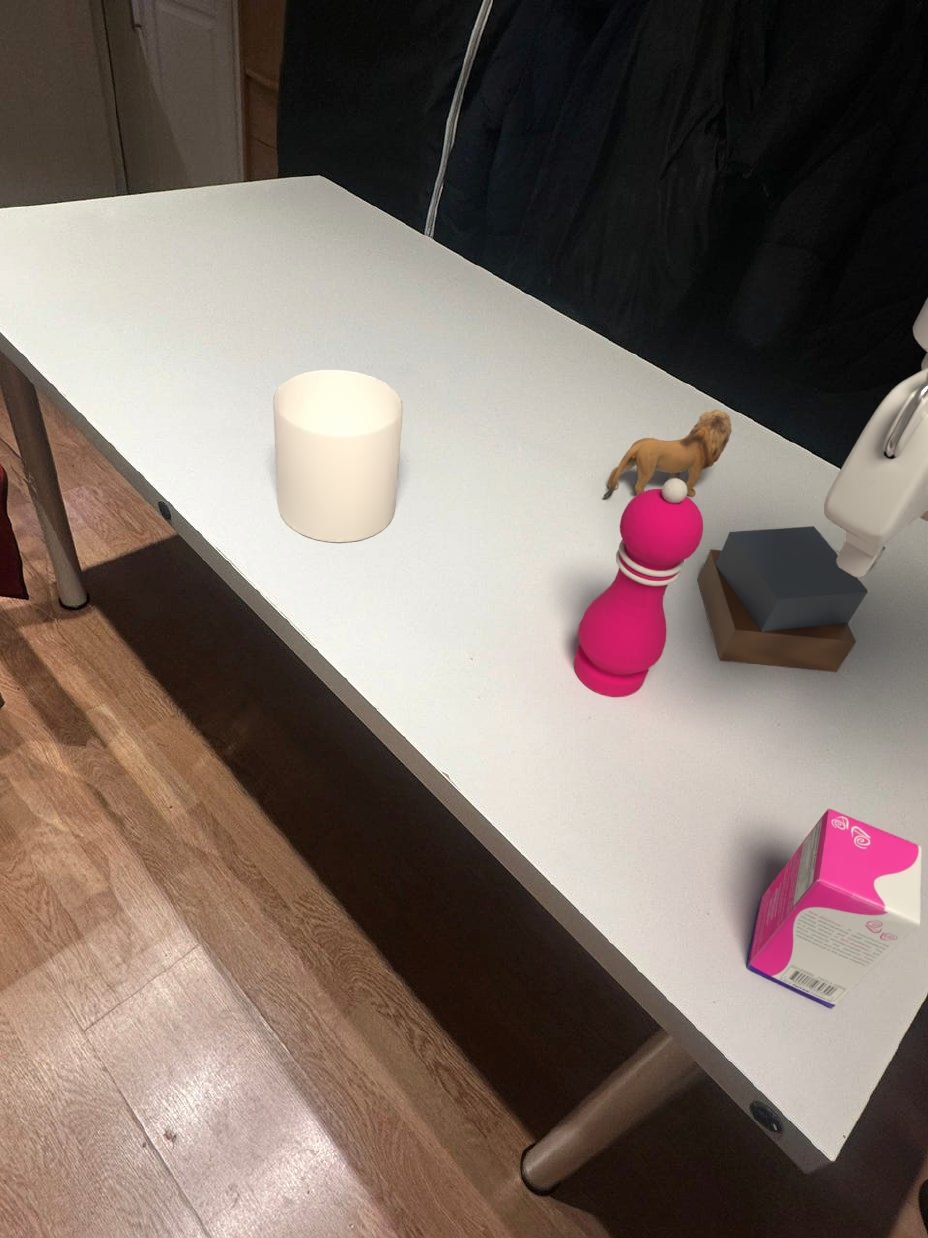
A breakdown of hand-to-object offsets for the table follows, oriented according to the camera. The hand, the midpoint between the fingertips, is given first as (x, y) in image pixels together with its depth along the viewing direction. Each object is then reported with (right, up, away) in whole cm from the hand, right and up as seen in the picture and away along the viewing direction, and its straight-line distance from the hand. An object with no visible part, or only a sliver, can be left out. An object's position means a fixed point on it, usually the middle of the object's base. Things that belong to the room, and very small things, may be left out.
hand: (889, 539), depth 51 cm
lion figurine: (-4, +10, +42) cm, 44 cm away
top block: (+3, -3, +25) cm, 25 cm away
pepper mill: (-14, -10, +21) cm, 27 cm away
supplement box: (-4, -27, +5) cm, 28 cm away
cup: (-39, +6, +33) cm, 51 cm away
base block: (+2, -5, +28) cm, 28 cm away
